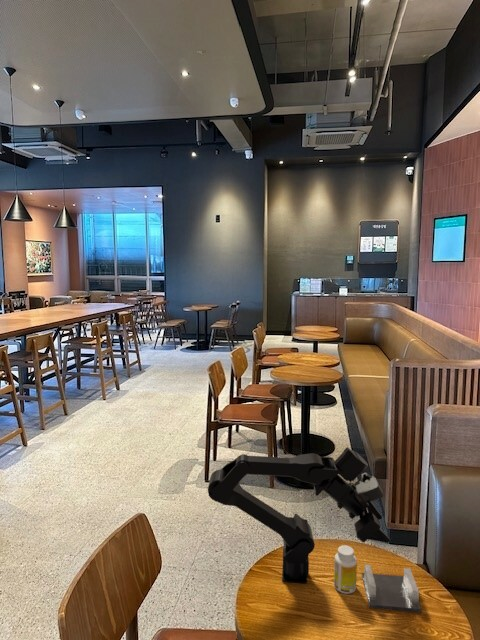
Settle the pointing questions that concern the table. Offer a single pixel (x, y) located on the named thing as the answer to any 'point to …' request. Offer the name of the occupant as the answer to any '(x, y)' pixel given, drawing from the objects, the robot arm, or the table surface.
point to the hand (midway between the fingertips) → (384, 529)
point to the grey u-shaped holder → (391, 591)
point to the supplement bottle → (345, 570)
